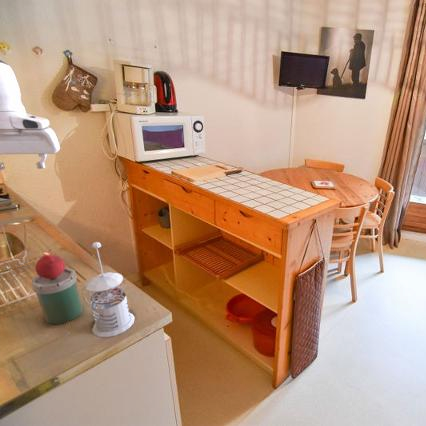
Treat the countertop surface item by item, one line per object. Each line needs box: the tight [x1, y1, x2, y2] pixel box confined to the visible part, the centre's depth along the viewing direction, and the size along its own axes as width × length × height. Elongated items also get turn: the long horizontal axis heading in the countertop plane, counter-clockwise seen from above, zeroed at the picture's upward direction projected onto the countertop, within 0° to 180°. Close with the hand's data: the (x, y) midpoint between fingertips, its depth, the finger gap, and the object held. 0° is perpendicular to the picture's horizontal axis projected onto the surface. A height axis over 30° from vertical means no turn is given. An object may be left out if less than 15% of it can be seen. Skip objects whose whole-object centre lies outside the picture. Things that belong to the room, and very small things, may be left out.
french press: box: [82, 241, 136, 338], centre depth 81 cm, size 10×12×25 cm
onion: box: [35, 252, 66, 280], centre depth 82 cm, size 6×6×8 cm
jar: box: [30, 266, 84, 325], centre depth 85 cm, size 9×9×12 cm
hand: (21, 168), depth 94 cm, fingers open, 8 cm apart
